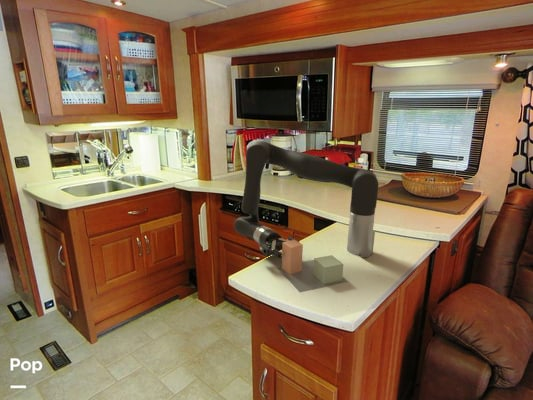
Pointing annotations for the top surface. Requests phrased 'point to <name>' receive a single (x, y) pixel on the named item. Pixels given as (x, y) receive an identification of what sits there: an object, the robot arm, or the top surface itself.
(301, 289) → the baseplate
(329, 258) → the bottom brick
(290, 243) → the top brick
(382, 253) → the top surface
